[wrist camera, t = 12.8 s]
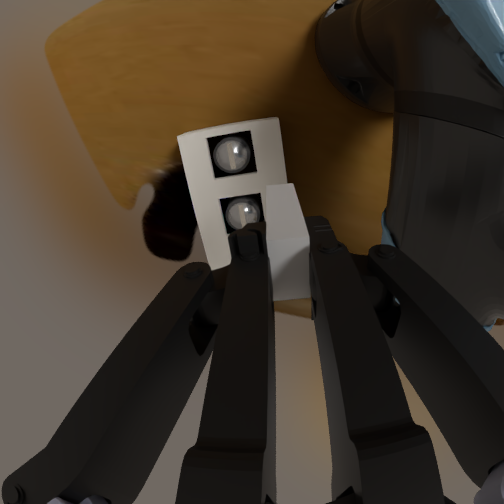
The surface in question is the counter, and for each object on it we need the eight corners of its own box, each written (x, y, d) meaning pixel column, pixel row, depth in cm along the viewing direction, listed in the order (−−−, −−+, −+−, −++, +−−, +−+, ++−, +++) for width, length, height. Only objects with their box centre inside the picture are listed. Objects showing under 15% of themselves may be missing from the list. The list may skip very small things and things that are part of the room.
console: (186, 132, 28) (176, 136, 25) (276, 116, 27) (278, 118, 24) (220, 273, 38) (216, 291, 34) (293, 264, 37) (297, 282, 33)
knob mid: (226, 191, 31) (222, 203, 28) (257, 186, 31) (257, 198, 28) (232, 219, 33) (228, 234, 30) (261, 215, 33) (262, 230, 29)
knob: (215, 136, 28) (209, 141, 25) (248, 131, 28) (246, 135, 24) (221, 167, 30) (216, 176, 26) (253, 162, 30) (252, 170, 26)
